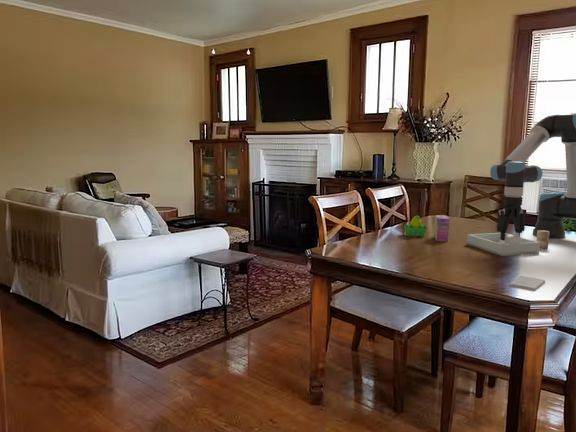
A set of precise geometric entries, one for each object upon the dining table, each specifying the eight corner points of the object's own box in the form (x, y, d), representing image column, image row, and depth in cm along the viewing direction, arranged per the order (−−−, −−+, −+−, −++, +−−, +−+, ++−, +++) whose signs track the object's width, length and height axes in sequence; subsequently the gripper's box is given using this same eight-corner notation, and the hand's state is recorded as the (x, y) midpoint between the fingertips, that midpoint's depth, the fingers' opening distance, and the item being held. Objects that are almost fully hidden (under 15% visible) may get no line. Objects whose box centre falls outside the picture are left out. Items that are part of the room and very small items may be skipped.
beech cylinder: (542, 246, 221) (543, 230, 220) (550, 248, 216) (551, 231, 215) (533, 247, 220) (534, 230, 219) (541, 249, 215) (543, 232, 214)
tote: (501, 242, 230) (502, 232, 229) (539, 253, 207) (540, 242, 206) (466, 244, 225) (467, 234, 224) (501, 255, 202) (501, 244, 201)
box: (448, 241, 231) (449, 218, 229) (436, 241, 232) (437, 218, 231) (445, 237, 241) (446, 215, 240) (434, 237, 242) (435, 215, 241)
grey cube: (509, 245, 214) (510, 234, 213) (518, 248, 209) (519, 236, 208) (499, 246, 213) (500, 234, 212) (508, 249, 208) (509, 237, 207)
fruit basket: (425, 234, 250) (426, 214, 248) (427, 237, 241) (428, 216, 239) (403, 233, 252) (404, 213, 250) (404, 237, 243) (405, 215, 241)
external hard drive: (544, 284, 163) (534, 292, 154) (519, 279, 168) (508, 287, 159) (545, 280, 163) (535, 287, 154) (520, 275, 168) (509, 282, 159)
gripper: (524, 194, 213) (520, 244, 217) (489, 195, 208) (486, 246, 212) (536, 196, 206) (532, 247, 209) (501, 197, 201) (497, 249, 205)
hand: (509, 246), depth 211 cm, fingers closed on grey cube, 5 cm apart
